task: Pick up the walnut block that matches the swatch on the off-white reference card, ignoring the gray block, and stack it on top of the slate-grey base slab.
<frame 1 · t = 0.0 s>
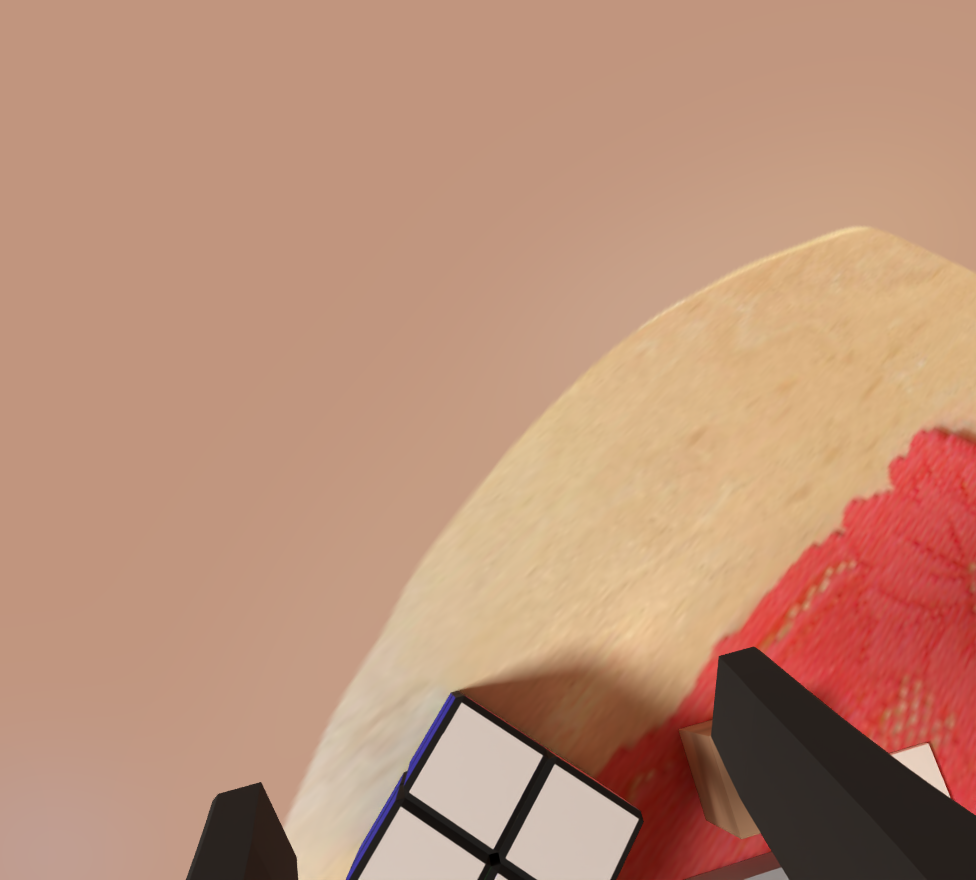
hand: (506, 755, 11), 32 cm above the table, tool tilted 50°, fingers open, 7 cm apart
walnut block: (730, 762, 41), on the table
reference card: (908, 828, 41), on the table
puzzle cube: (481, 815, 40), on the table
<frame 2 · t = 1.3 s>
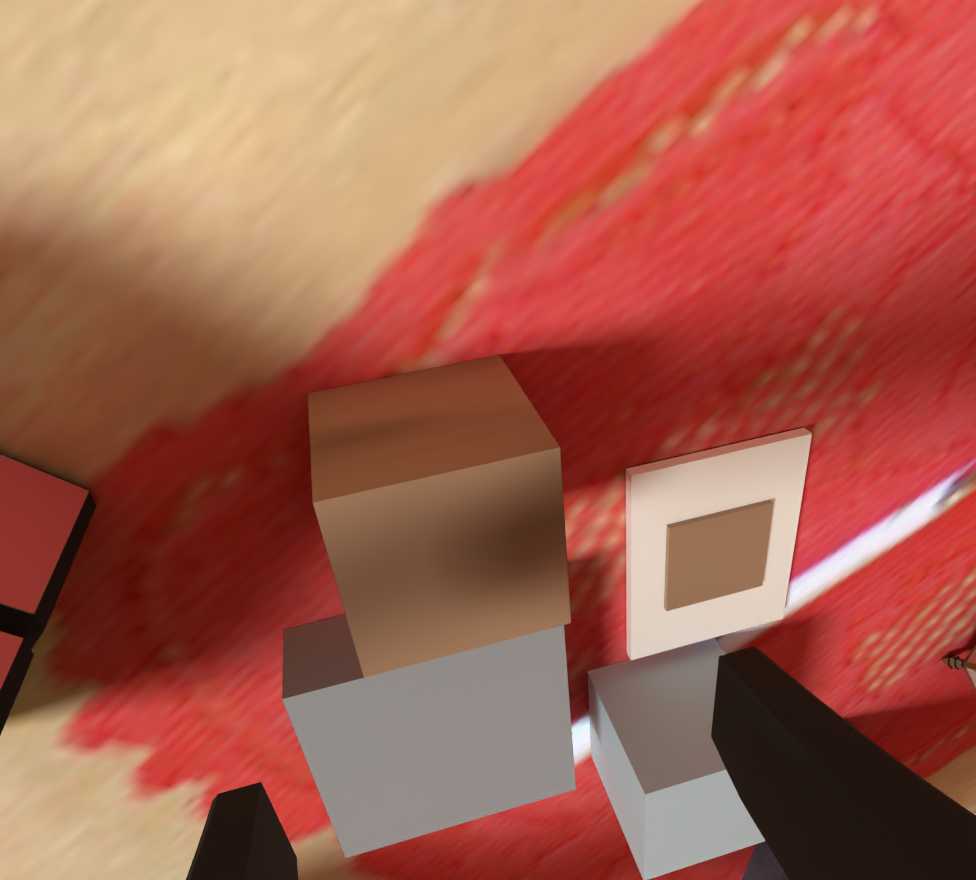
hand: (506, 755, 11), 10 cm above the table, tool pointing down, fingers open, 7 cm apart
walnut block: (420, 453, 19), on the table
reference card: (709, 547, 24), on the table
gray block: (649, 696, 27), on the table
slate base: (431, 674, 24), on the table
vhs cassette tape: (772, 838, 36), on the table
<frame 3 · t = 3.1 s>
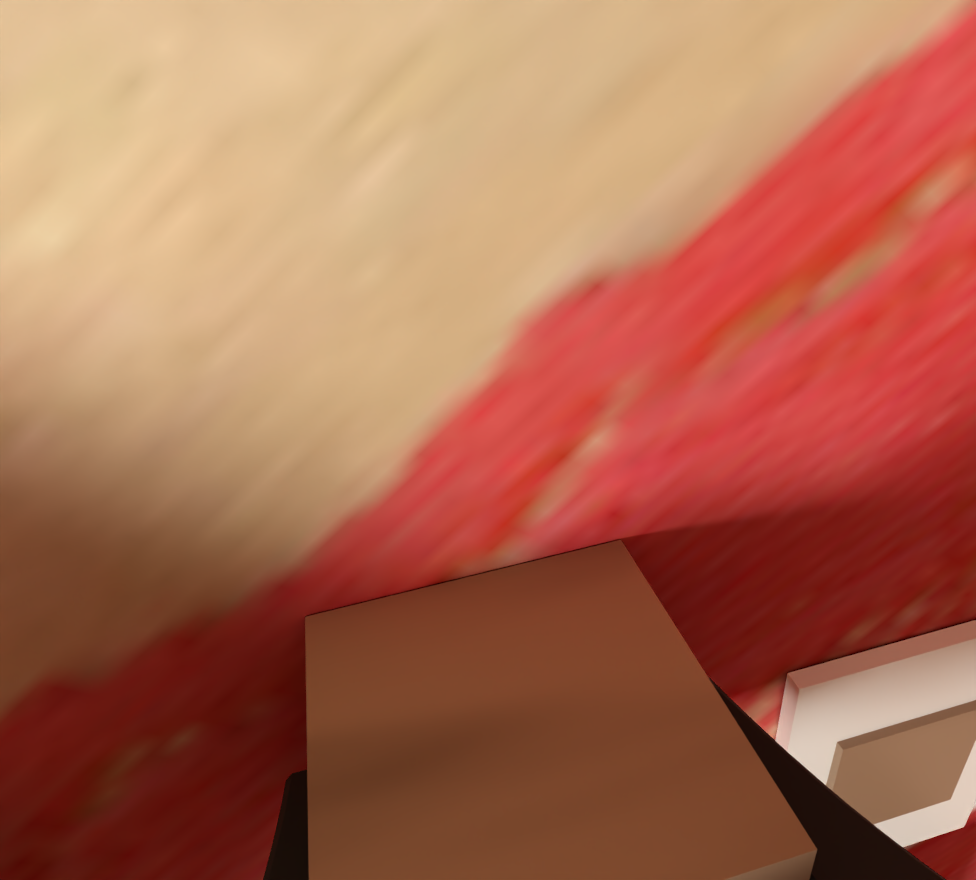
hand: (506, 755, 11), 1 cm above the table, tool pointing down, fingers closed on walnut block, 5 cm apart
walnut block: (485, 684, 12), on the table, touching gripper
reference card: (882, 753, 16), on the table
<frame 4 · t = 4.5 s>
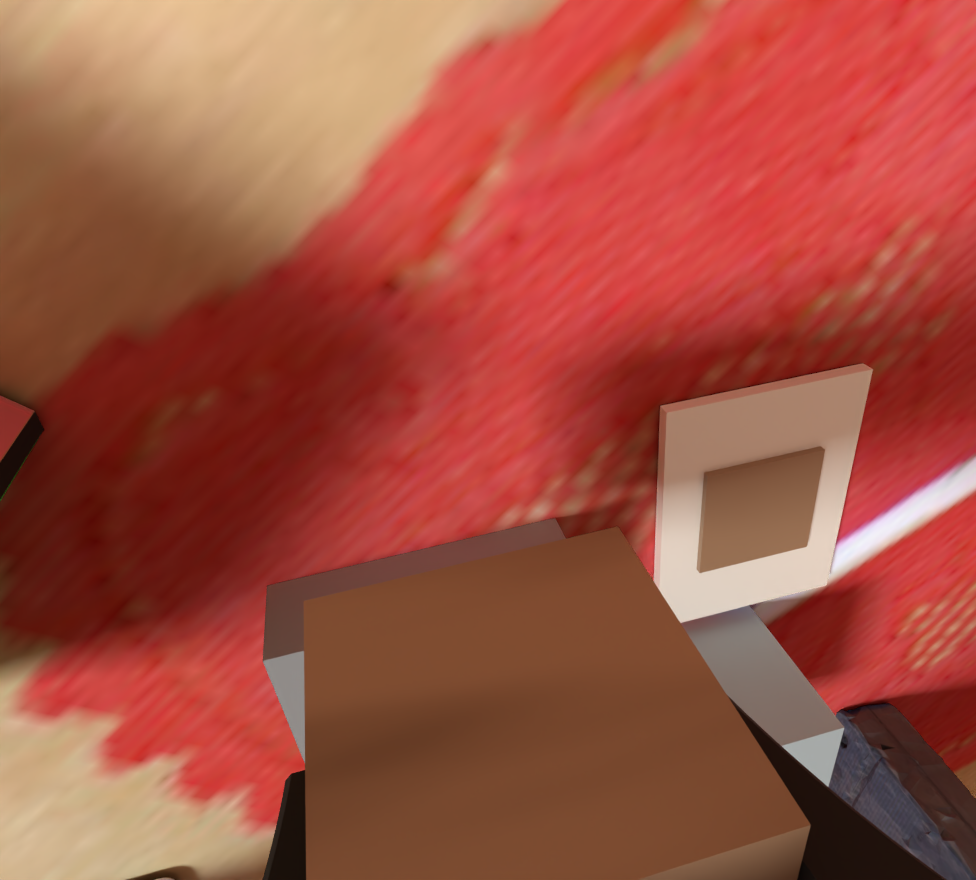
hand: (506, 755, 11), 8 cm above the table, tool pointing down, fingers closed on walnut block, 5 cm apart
walnut block: (483, 670, 12), point 7 cm above the table, touching gripper
reference card: (749, 501, 21), on the table
gray block: (675, 670, 25), on the table
slate base: (434, 641, 22), on the table
vhs cassette tape: (798, 827, 33), on the table
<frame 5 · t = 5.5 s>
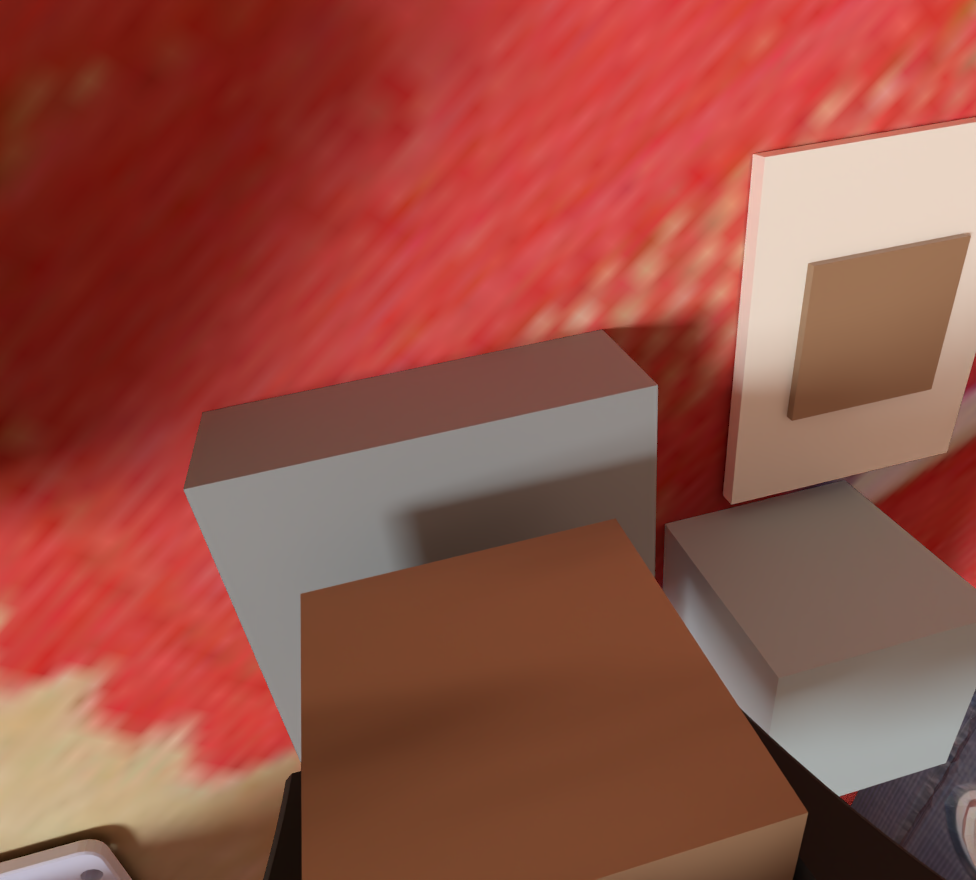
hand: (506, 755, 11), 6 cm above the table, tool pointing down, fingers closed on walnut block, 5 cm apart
walnut block: (481, 664, 12), point 4 cm above the table, touching gripper
reference card: (858, 322, 16), on the table
gray block: (746, 572, 19), on the table
slate base: (438, 517, 16), on the table
vhs cassette tape: (873, 789, 28), on the table
when the fingers open (6 cm above the table, at t = 6.2 s): walnut block drops 2 cm, resting on slate base.
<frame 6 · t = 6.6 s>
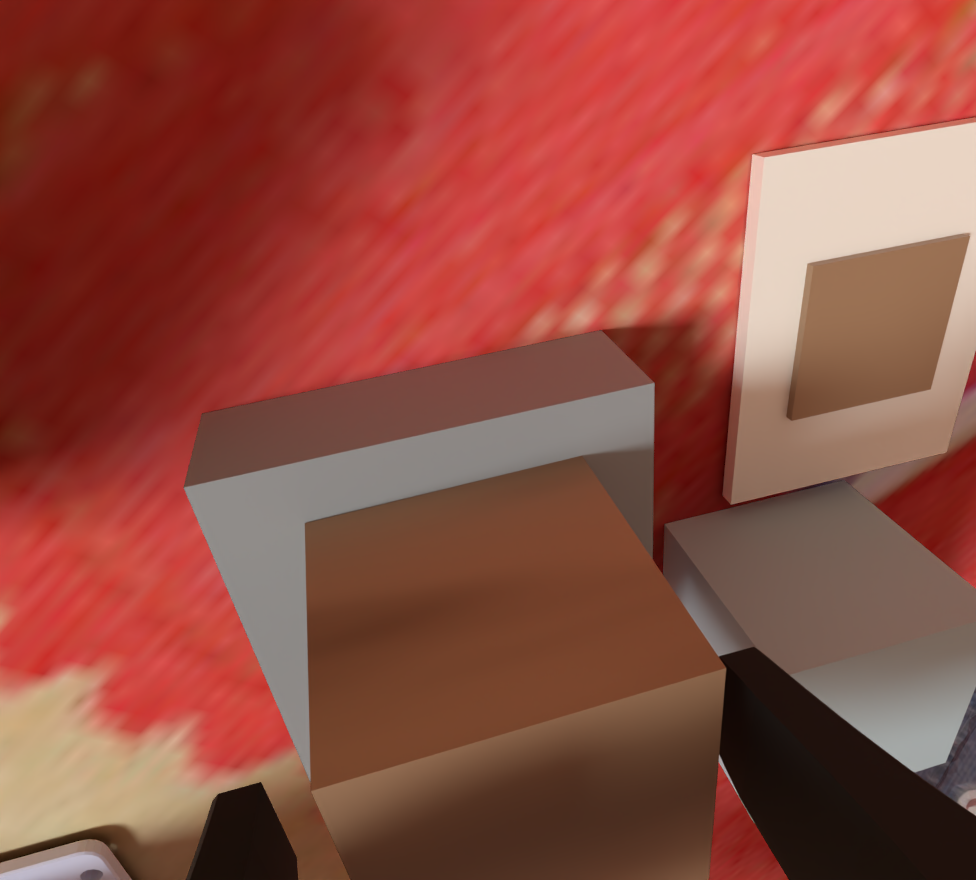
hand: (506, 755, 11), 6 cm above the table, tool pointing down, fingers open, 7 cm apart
walnut block: (467, 591, 14), point 3 cm above the table, touching slate base
reference card: (858, 322, 16), on the table
gray block: (745, 572, 19), on the table
slate base: (437, 515, 16), on the table, touching walnut block
vhs cassette tape: (873, 789, 28), on the table
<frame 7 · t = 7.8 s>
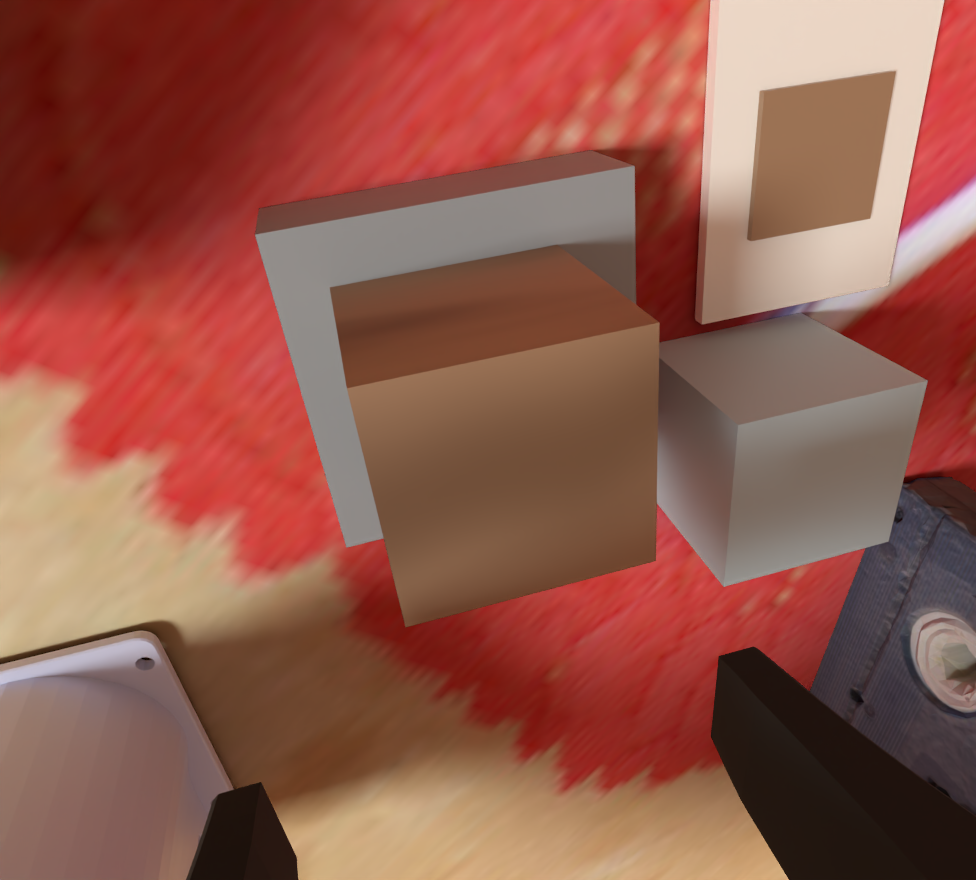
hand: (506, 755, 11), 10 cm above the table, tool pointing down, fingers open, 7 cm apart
walnut block: (461, 370, 16), point 3 cm above the table, touching slate base
reference card: (806, 156, 18), on the table
gray block: (717, 402, 22), on the table
slate base: (451, 329, 19), on the table, touching walnut block
vhs cassette tape: (841, 648, 30), on the table
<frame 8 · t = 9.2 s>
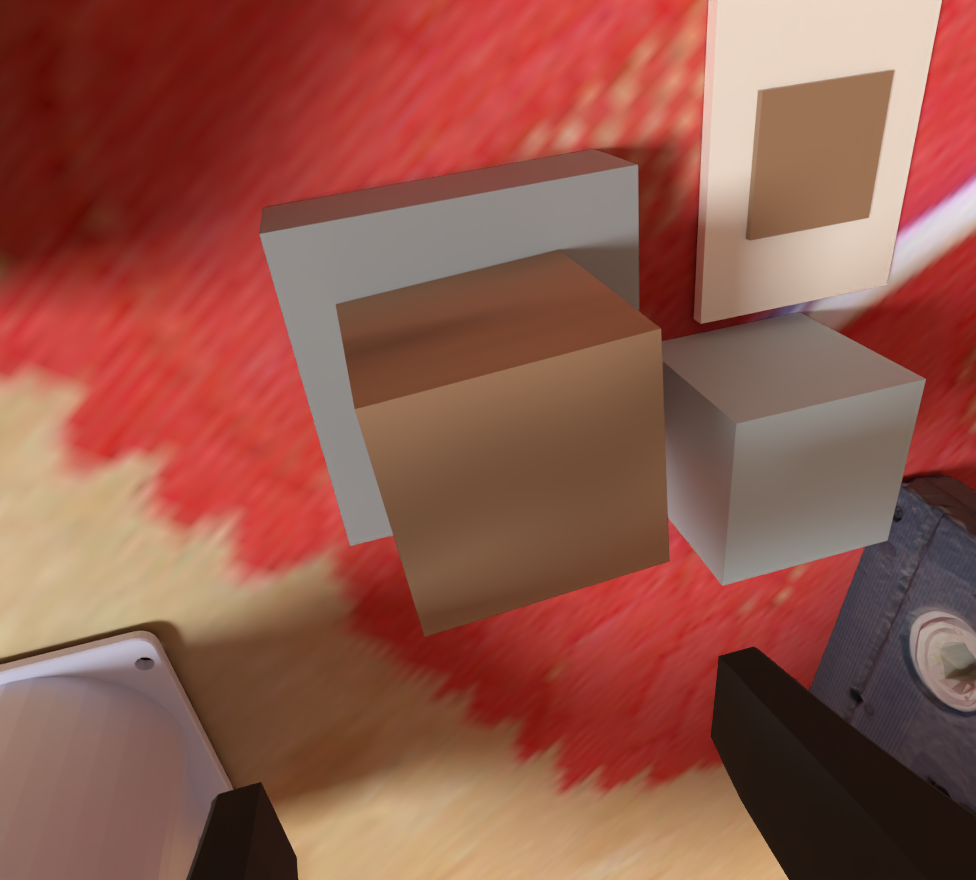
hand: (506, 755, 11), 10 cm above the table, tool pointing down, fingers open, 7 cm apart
walnut block: (469, 378, 16), point 3 cm above the table
reference card: (804, 155, 18), on the table
gray block: (716, 401, 22), on the table
slate base: (455, 328, 19), on the table
vhs cassette tape: (841, 648, 30), on the table
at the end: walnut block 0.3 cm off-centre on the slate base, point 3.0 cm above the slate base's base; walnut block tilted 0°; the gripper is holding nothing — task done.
